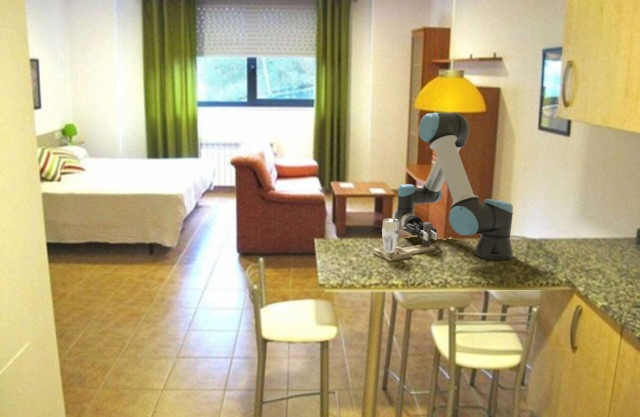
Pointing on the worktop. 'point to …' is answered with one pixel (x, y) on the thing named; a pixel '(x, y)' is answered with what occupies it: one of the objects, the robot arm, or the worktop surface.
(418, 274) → the worktop surface
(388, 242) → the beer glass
